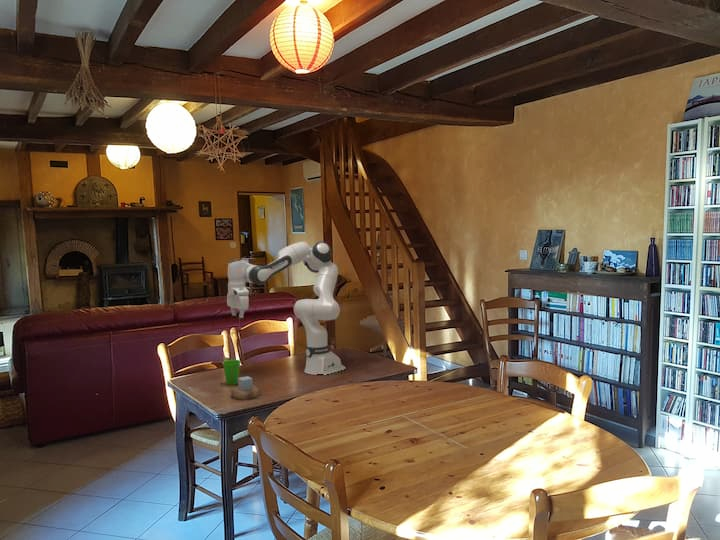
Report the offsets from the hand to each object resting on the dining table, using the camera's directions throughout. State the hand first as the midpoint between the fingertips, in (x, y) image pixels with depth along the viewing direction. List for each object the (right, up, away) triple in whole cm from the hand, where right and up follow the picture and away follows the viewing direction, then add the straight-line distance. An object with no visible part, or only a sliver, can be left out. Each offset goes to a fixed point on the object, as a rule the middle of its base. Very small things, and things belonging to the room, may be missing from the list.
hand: (237, 316), depth 265 cm
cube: (+11, -31, -31) cm, 45 cm away
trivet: (+11, -34, -30) cm, 47 cm away
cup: (0, -32, -12) cm, 35 cm away
